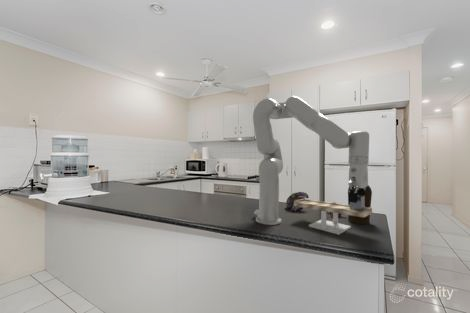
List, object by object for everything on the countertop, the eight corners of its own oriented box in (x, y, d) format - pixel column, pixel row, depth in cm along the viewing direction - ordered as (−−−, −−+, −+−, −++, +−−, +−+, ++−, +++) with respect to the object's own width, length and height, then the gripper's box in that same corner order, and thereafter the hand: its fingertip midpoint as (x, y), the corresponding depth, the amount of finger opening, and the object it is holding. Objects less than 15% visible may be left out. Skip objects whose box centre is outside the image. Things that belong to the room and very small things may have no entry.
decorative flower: (279, 191, 144) (302, 185, 144) (283, 207, 147) (305, 201, 147) (285, 202, 130) (311, 195, 130) (289, 220, 134) (314, 213, 133)
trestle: (308, 226, 107) (308, 208, 107) (321, 220, 116) (322, 204, 116) (338, 234, 97) (339, 214, 97) (350, 227, 106) (351, 209, 106)
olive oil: (375, 225, 111) (377, 173, 111) (355, 225, 110) (356, 173, 110) (361, 218, 122) (363, 171, 121) (342, 218, 121) (344, 171, 120)
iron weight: (349, 210, 98) (349, 196, 98) (353, 208, 101) (353, 194, 101) (361, 211, 95) (361, 197, 95) (364, 210, 98) (364, 195, 98)
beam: (293, 207, 114) (293, 201, 114) (304, 204, 122) (304, 198, 122) (363, 219, 91) (363, 211, 91) (372, 215, 98) (372, 207, 98)
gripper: (360, 161, 89) (359, 205, 89) (374, 160, 101) (373, 199, 101) (341, 160, 94) (339, 202, 95) (356, 160, 106) (355, 196, 107)
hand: (357, 200), depth 98 cm, fingers open, 9 cm apart
